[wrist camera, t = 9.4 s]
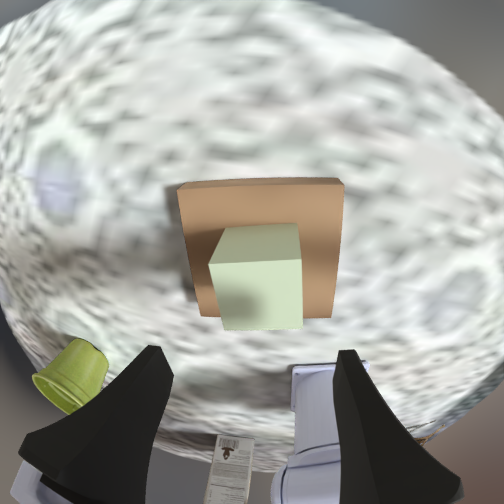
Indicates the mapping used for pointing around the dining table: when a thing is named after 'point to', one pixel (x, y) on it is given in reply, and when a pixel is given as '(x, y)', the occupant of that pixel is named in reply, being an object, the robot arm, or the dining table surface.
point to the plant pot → (73, 376)
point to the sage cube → (259, 277)
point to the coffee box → (230, 471)
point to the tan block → (266, 213)
